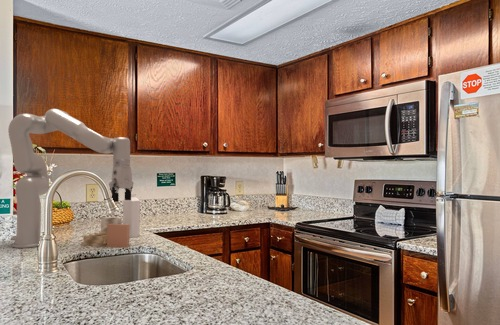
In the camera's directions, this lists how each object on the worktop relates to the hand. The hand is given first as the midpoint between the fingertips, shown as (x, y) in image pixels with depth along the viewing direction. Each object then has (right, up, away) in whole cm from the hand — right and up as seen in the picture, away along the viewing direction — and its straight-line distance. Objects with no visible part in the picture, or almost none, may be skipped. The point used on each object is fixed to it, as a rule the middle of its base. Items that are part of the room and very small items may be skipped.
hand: (121, 200), depth 180 cm
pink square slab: (0, -20, -4) cm, 21 cm away
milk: (-2, -21, +22) cm, 31 cm away
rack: (-10, -20, +6) cm, 24 cm away
